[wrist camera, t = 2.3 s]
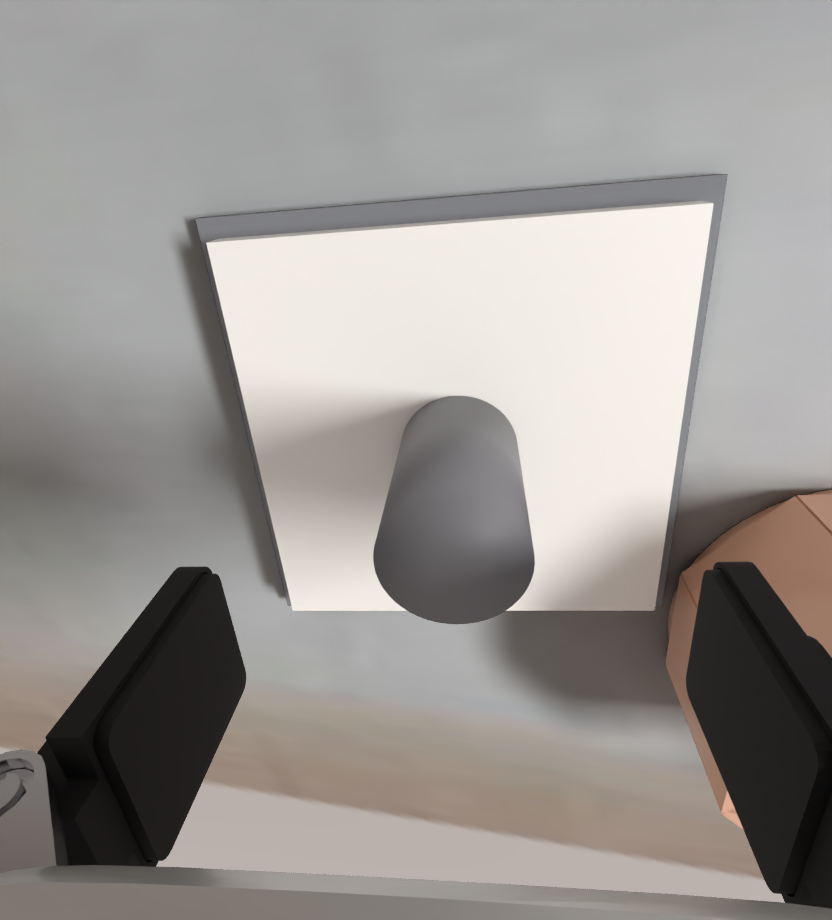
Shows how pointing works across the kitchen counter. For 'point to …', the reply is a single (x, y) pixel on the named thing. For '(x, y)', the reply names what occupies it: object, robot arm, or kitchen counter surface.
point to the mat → (482, 207)
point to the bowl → (786, 570)
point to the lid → (469, 405)
